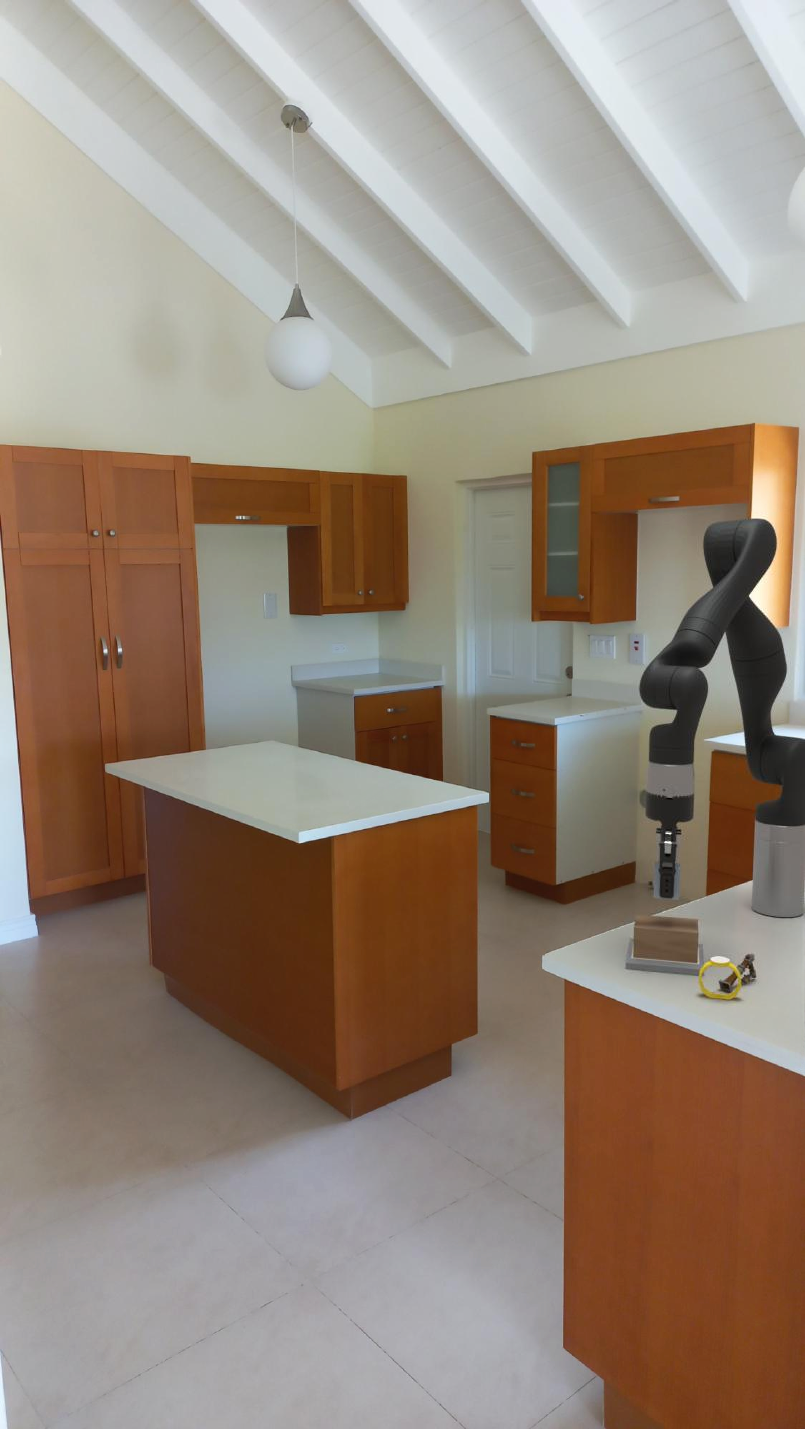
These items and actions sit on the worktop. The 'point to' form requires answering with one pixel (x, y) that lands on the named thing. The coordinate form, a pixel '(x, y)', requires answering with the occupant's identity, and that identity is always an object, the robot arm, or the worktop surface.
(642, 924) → the walnut block
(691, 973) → the build pad
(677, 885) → the gray block
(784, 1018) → the worktop surface
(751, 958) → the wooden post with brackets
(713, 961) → the watch
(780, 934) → the worktop surface
